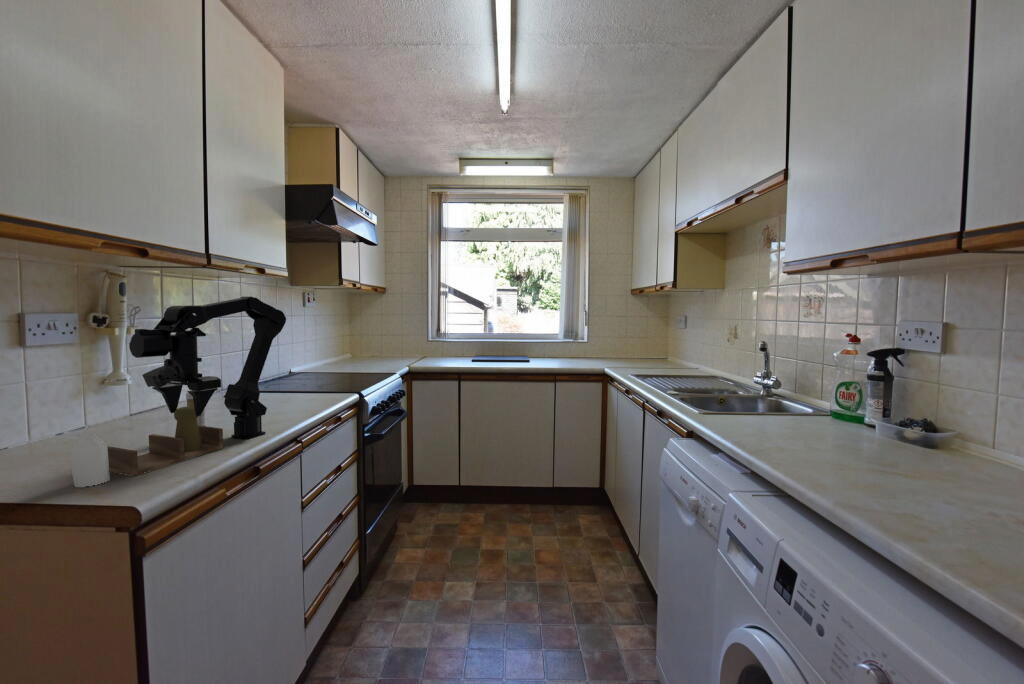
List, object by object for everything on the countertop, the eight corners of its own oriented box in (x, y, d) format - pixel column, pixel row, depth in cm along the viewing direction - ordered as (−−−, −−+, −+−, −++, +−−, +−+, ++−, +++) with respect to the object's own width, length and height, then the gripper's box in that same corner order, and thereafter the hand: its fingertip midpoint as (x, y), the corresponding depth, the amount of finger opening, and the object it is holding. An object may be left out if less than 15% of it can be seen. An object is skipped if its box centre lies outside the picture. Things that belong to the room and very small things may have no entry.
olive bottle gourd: (207, 446, 113) (206, 405, 113) (186, 453, 107) (185, 410, 107) (188, 444, 114) (187, 404, 114) (166, 451, 108) (165, 408, 108)
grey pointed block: (114, 425, 92) (85, 432, 87) (117, 478, 93) (88, 489, 88) (91, 423, 93) (61, 430, 88) (93, 476, 94) (64, 486, 88)
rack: (193, 444, 118) (193, 424, 117) (223, 448, 114) (222, 428, 114) (100, 470, 98) (99, 446, 97) (133, 476, 94) (132, 452, 94)
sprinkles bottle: (183, 438, 123) (181, 392, 122) (196, 433, 128) (195, 389, 127) (197, 439, 122) (195, 393, 122) (210, 434, 127) (209, 390, 126)
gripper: (122, 355, 104) (125, 418, 105) (176, 359, 99) (178, 425, 99) (171, 352, 115) (173, 408, 116) (222, 355, 109) (223, 415, 110)
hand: (185, 414), depth 110 cm, fingers open, 9 cm apart
